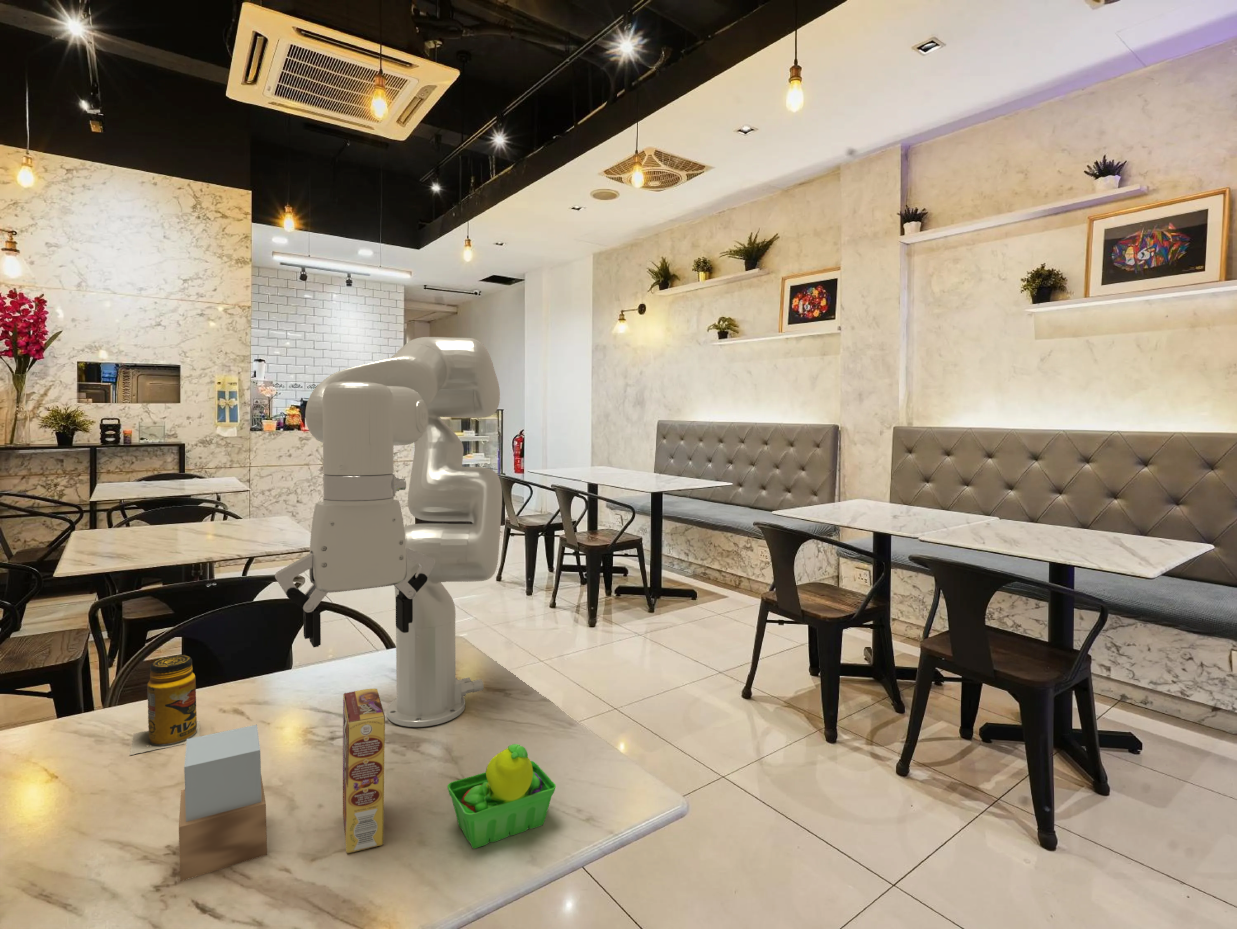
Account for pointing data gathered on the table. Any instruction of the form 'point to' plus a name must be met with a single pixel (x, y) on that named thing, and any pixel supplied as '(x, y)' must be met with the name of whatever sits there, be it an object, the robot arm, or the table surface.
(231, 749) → the slate block
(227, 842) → the walnut block
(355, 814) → the candy box
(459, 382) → the robot arm
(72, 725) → the table surface
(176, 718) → the condiment
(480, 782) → the fruit basket
